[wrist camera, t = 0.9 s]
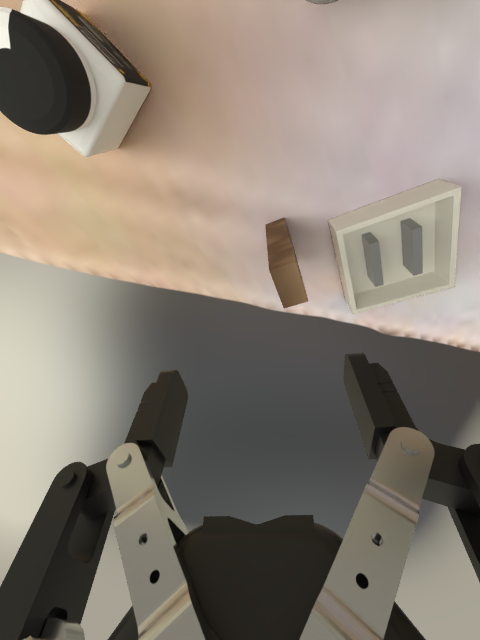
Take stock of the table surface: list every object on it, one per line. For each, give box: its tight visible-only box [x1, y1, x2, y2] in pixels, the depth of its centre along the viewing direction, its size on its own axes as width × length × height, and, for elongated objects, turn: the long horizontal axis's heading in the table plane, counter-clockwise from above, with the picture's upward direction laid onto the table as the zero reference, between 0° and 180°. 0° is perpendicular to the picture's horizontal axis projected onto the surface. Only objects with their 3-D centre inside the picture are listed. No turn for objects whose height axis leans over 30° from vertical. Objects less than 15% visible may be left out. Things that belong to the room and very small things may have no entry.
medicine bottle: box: [0, 0, 151, 157], centre depth 21 cm, size 7×7×12 cm
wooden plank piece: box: [266, 218, 308, 308], centre depth 30 cm, size 2×4×12 cm, turn 22°
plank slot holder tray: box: [328, 179, 461, 314], centre depth 33 cm, size 12×12×4 cm
